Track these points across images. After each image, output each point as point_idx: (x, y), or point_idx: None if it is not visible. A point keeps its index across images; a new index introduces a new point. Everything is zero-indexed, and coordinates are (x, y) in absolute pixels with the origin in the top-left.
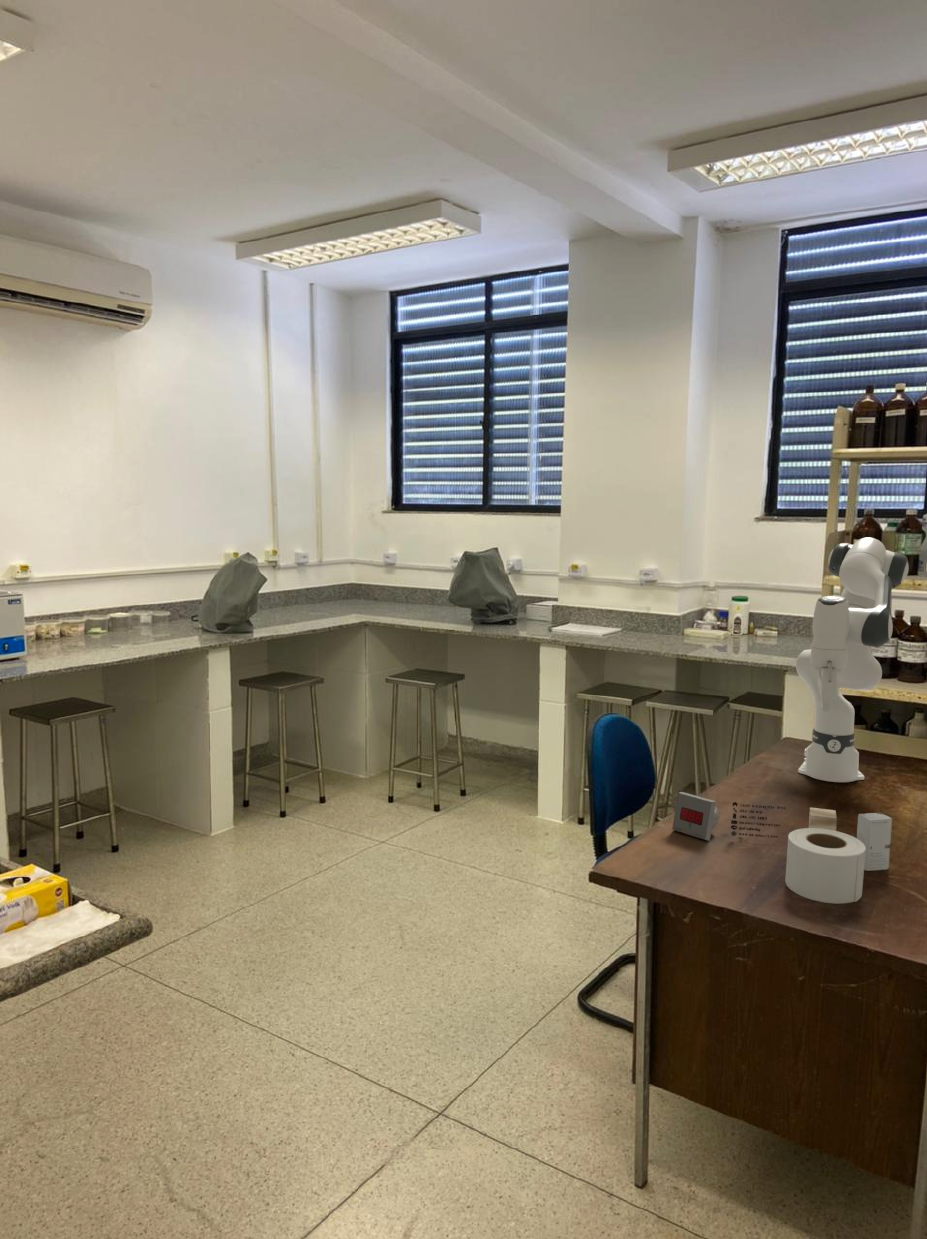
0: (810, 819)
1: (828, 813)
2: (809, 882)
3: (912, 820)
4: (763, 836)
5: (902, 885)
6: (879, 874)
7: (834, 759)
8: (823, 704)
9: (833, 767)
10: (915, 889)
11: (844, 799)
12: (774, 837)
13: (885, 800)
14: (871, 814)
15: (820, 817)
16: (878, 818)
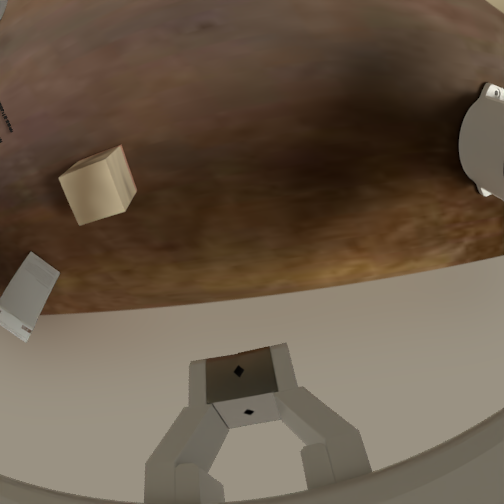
0: (62, 174)
1: (94, 205)
2: None
3: (299, 285)
4: (2, 109)
5: None
6: None
7: (494, 160)
8: (187, 411)
9: (481, 153)
10: None
11: (371, 171)
12: (9, 126)
13: (392, 236)
14: (11, 320)
15: (67, 195)
16: (7, 329)
